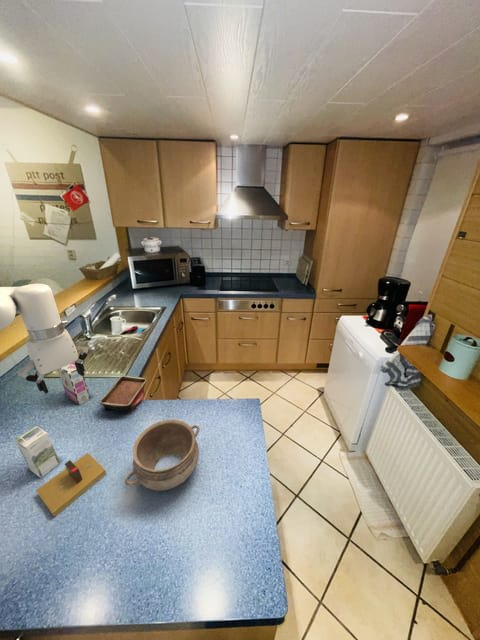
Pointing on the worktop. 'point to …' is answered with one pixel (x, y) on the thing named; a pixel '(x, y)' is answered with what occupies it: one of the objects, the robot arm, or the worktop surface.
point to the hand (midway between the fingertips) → (64, 382)
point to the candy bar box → (73, 384)
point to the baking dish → (124, 394)
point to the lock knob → (73, 471)
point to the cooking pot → (164, 454)
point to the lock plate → (70, 485)
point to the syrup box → (37, 451)
